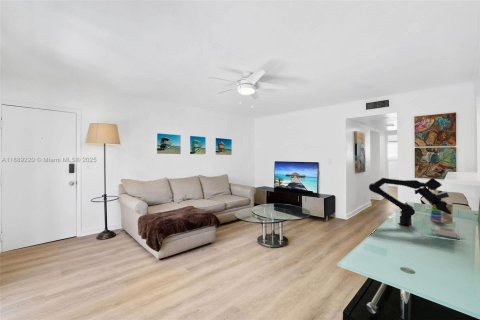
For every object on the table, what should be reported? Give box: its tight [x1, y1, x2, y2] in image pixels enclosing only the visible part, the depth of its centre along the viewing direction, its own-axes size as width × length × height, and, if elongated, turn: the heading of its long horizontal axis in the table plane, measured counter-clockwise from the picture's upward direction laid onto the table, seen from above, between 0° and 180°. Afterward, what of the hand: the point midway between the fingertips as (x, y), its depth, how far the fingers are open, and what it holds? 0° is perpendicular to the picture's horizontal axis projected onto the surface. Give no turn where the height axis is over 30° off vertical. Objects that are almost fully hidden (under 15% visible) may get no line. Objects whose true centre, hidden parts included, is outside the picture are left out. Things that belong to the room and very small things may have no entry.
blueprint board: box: [432, 224, 461, 241], centre depth 139 cm, size 24×12×4 cm, turn 136°
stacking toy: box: [429, 205, 442, 223], centre depth 162 cm, size 8×8×19 cm
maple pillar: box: [440, 202, 454, 225], centre depth 144 cm, size 5×5×13 cm
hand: (449, 213), depth 143 cm, fingers closed on maple pillar, 5 cm apart
